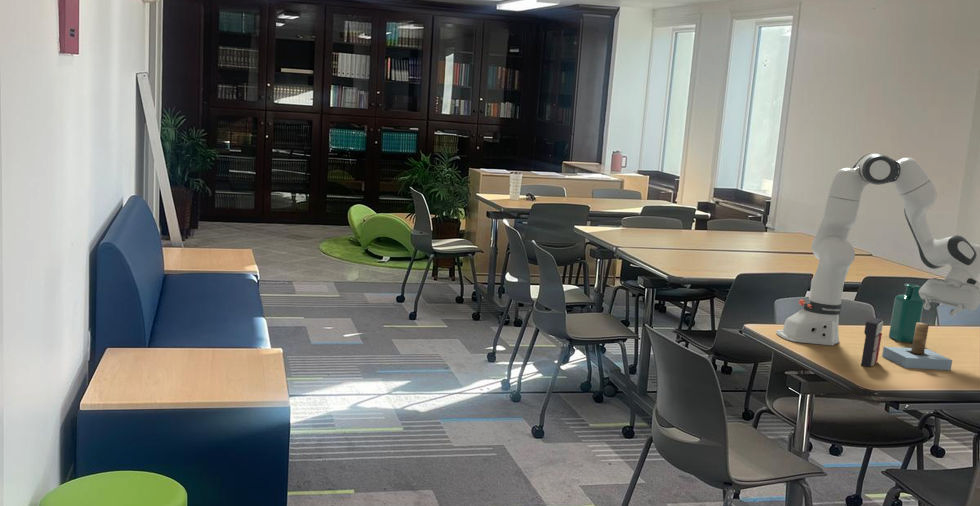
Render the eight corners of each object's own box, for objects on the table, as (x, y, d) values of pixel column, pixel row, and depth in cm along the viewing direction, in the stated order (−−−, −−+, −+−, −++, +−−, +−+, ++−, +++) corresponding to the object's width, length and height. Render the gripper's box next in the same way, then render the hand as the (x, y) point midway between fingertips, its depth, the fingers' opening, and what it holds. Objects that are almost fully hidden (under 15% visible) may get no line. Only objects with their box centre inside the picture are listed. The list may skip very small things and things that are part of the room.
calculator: (872, 368, 307) (879, 324, 305) (858, 365, 310) (865, 321, 307) (878, 361, 317) (885, 319, 314) (864, 359, 319) (871, 317, 316)
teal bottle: (886, 336, 359) (895, 281, 355) (907, 337, 360) (916, 282, 356) (900, 343, 349) (909, 286, 346) (921, 344, 350) (930, 287, 347)
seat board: (904, 367, 312) (906, 357, 311) (882, 356, 326) (883, 346, 325) (950, 370, 314) (952, 360, 314) (926, 358, 328) (927, 349, 328)
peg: (913, 364, 318) (920, 325, 315) (906, 360, 322) (913, 322, 320) (925, 365, 318) (932, 325, 316) (917, 361, 322) (924, 322, 320)
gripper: (927, 271, 333) (908, 298, 329) (984, 283, 316) (964, 312, 312) (932, 283, 336) (913, 310, 332) (988, 295, 320) (968, 324, 316)
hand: (938, 311), depth 322 cm, fingers open, 8 cm apart
